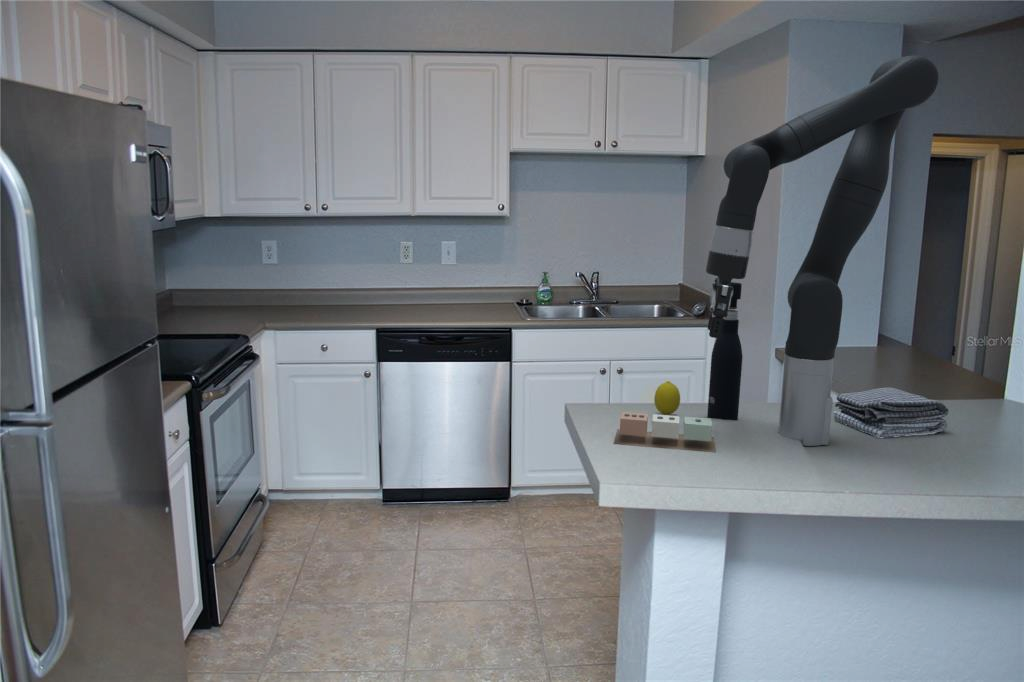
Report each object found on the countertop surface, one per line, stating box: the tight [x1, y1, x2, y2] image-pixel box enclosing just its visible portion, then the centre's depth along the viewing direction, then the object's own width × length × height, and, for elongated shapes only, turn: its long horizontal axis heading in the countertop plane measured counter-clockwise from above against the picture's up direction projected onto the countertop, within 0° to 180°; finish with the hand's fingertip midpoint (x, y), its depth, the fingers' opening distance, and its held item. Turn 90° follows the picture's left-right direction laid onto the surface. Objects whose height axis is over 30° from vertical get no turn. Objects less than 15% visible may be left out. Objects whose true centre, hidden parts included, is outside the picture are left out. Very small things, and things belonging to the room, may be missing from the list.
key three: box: [619, 411, 649, 436], centre depth 154 cm, size 5×5×3 cm
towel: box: [832, 386, 949, 439], centre depth 172 cm, size 15×18×8 cm
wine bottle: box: [706, 281, 743, 421], centre depth 171 cm, size 6×6×30 cm
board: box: [612, 428, 717, 453], centre depth 155 cm, size 19×10×1 cm, turn 78°
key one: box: [683, 416, 713, 441], centre depth 152 cm, size 5×5×3 cm
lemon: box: [653, 380, 681, 416], centre depth 175 cm, size 6×6×8 cm
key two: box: [651, 413, 680, 439], centre depth 153 cm, size 5×5×3 cm
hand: (713, 333), depth 156 cm, fingers open, 8 cm apart
